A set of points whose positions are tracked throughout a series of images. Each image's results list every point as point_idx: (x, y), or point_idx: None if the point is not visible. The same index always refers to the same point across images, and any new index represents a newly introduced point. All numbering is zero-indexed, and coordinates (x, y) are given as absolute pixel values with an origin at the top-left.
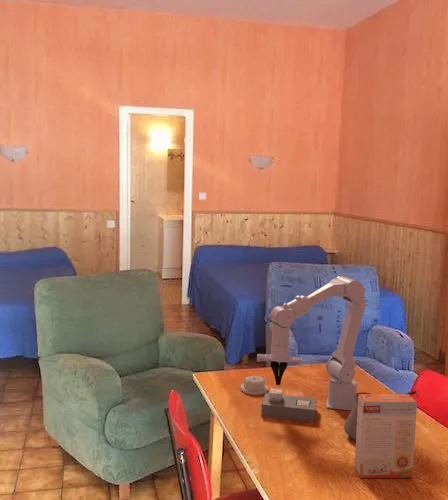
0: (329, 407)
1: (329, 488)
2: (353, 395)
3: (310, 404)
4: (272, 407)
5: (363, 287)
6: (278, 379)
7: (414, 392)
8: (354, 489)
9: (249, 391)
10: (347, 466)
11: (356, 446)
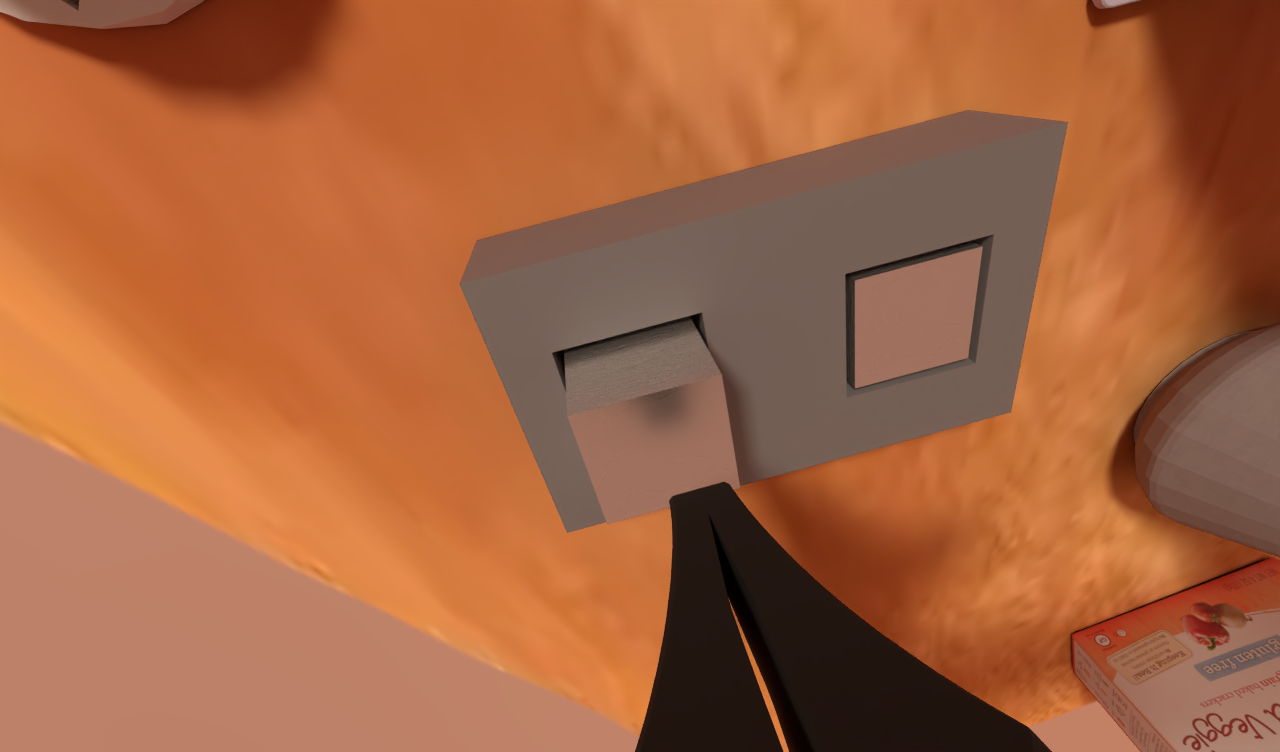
0: (1125, 2)
1: None
2: None
3: (982, 327)
4: None
5: None
6: (745, 634)
7: None
8: (1036, 710)
9: (88, 27)
10: (1045, 636)
11: (1157, 739)
